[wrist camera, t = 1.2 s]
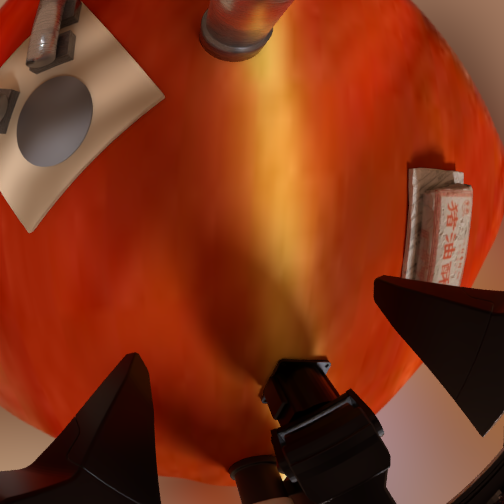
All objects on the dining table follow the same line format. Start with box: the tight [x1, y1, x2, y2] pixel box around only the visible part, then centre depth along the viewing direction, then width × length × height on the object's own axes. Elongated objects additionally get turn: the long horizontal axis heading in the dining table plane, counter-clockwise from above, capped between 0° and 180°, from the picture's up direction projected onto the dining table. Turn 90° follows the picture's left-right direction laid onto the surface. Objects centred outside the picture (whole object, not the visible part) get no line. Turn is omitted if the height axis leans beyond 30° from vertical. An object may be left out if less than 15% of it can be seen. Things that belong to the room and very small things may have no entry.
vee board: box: [0, 1, 165, 233], centre depth 13 cm, size 15×15×1 cm
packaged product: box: [402, 168, 473, 287], centre depth 25 cm, size 18×5×10 cm
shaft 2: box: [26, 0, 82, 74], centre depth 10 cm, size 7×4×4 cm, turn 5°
